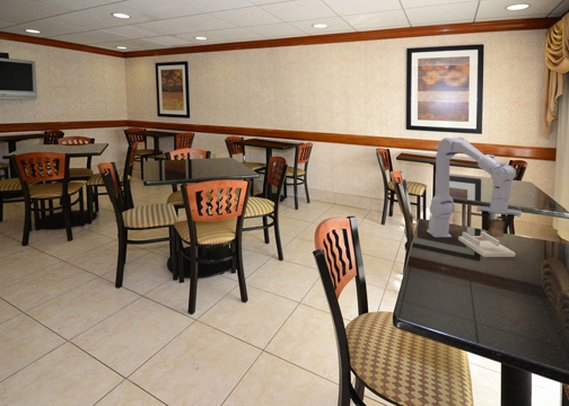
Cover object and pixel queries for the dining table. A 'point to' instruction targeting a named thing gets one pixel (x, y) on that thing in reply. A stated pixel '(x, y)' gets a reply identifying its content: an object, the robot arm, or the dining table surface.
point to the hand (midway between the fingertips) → (495, 231)
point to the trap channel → (486, 245)
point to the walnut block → (495, 227)
